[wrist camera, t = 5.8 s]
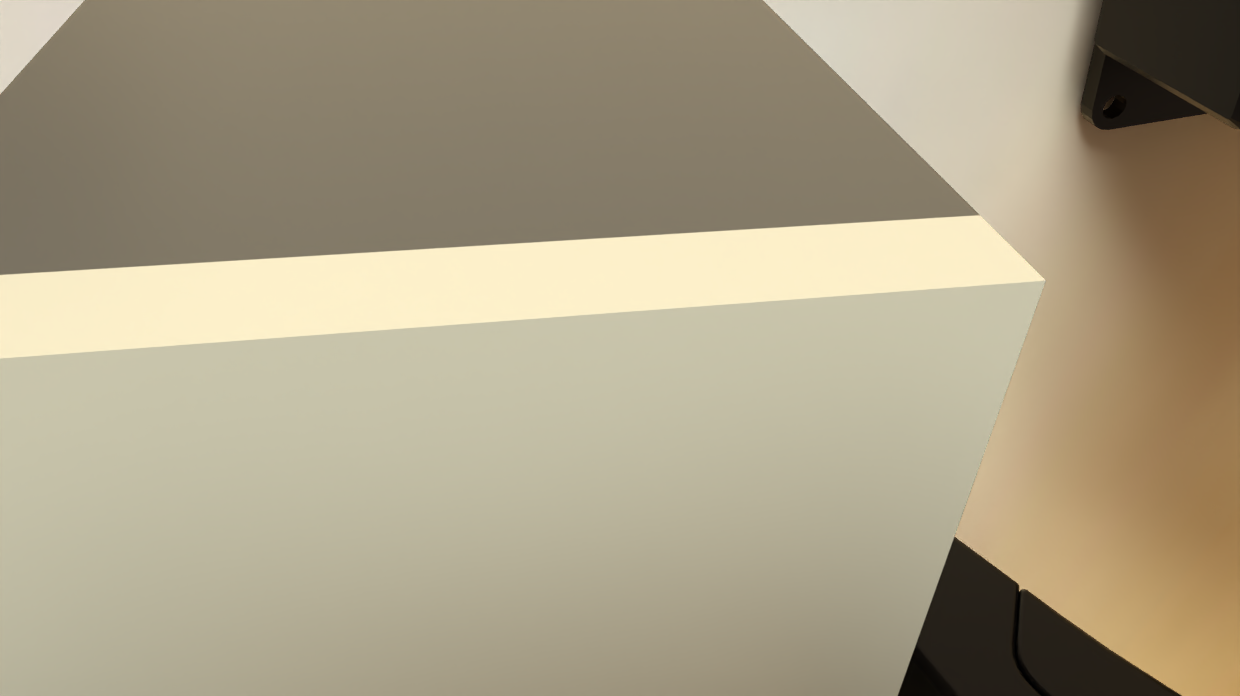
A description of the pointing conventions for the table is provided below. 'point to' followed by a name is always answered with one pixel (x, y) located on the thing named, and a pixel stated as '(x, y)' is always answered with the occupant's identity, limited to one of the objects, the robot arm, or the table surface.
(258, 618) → the beige gray rectangular block
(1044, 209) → the table surface
